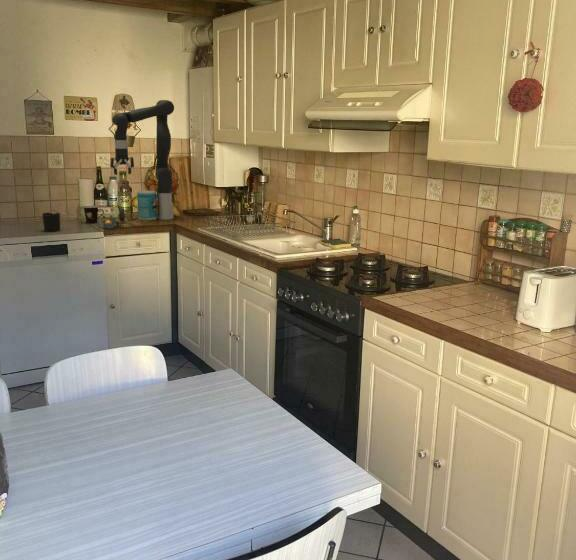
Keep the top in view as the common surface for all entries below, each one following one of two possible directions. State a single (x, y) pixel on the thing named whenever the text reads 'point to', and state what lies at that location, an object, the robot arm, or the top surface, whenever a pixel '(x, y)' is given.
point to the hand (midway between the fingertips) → (122, 174)
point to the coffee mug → (91, 214)
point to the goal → (105, 224)
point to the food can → (147, 205)
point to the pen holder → (51, 222)
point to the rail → (132, 224)
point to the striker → (122, 219)
